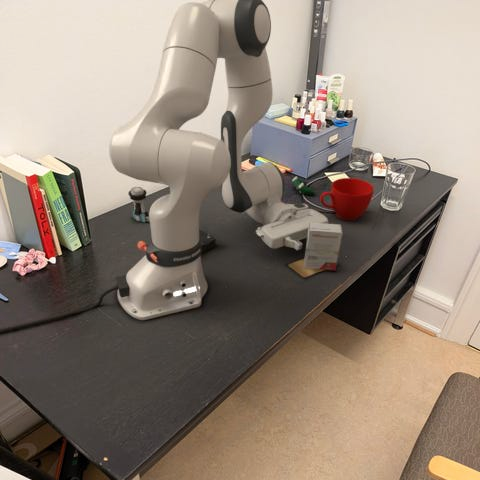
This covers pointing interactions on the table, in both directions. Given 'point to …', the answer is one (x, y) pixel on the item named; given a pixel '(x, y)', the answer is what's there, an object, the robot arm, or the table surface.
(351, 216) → the ceramic cup
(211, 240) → the disk drive
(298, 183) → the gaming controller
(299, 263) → the gold rectangular plate
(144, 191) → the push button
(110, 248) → the table surface
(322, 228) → the ink box
